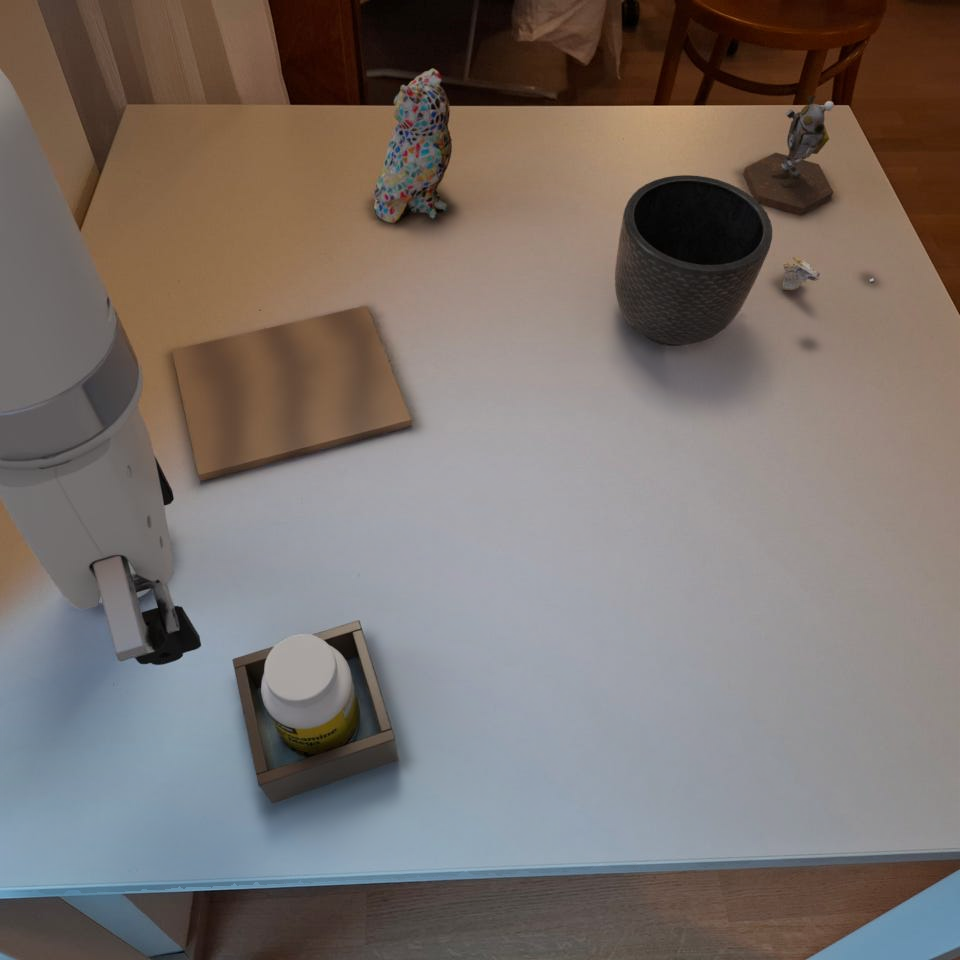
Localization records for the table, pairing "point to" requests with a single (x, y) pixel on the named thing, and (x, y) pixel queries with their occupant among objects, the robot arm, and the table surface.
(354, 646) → the holder
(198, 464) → the board
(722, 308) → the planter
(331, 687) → the pill bottle
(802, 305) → the table surface
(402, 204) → the figurine
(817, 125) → the robot figurine
